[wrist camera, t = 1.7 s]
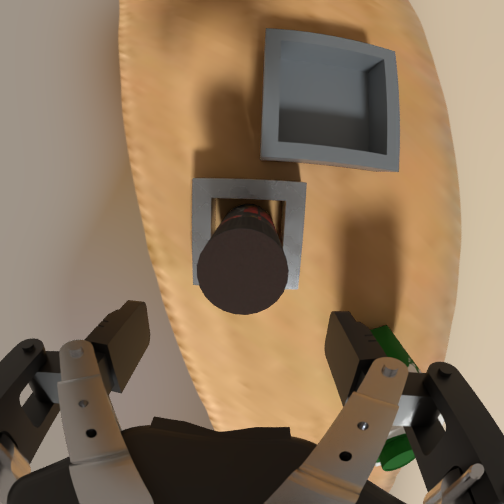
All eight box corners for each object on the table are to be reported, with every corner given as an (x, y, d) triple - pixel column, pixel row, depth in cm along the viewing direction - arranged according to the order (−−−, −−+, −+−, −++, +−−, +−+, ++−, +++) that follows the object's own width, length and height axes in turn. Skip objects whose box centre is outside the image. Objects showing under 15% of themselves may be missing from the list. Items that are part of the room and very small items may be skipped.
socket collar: (199, 177, 31) (192, 178, 27) (301, 181, 31) (306, 182, 27) (199, 274, 34) (193, 284, 30) (293, 278, 34) (297, 289, 30)
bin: (264, 51, 26) (265, 28, 20) (374, 67, 26) (394, 51, 20) (259, 160, 30) (260, 156, 24) (375, 171, 30) (398, 171, 24)
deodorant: (275, 252, 33) (289, 311, 18) (225, 255, 33) (203, 316, 19) (272, 201, 31) (286, 225, 17) (220, 205, 32) (190, 231, 17)
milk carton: (335, 333, 36) (384, 449, 17) (393, 317, 35) (467, 410, 16) (338, 378, 38) (374, 484, 19) (390, 362, 38) (444, 454, 18)
